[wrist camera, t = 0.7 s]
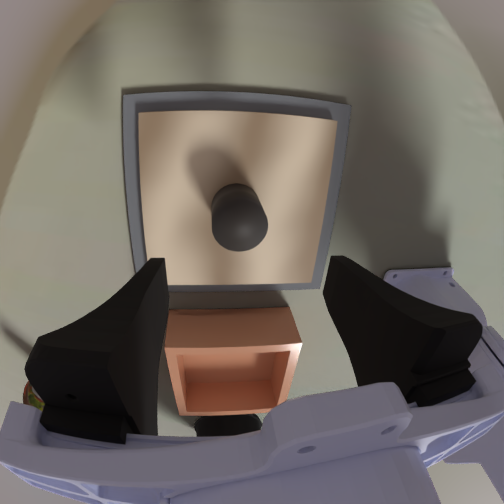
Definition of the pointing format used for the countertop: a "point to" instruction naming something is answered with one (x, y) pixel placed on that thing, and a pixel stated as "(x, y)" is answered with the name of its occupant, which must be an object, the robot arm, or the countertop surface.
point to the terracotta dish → (231, 359)
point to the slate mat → (230, 103)
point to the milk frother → (227, 425)
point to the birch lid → (234, 194)
